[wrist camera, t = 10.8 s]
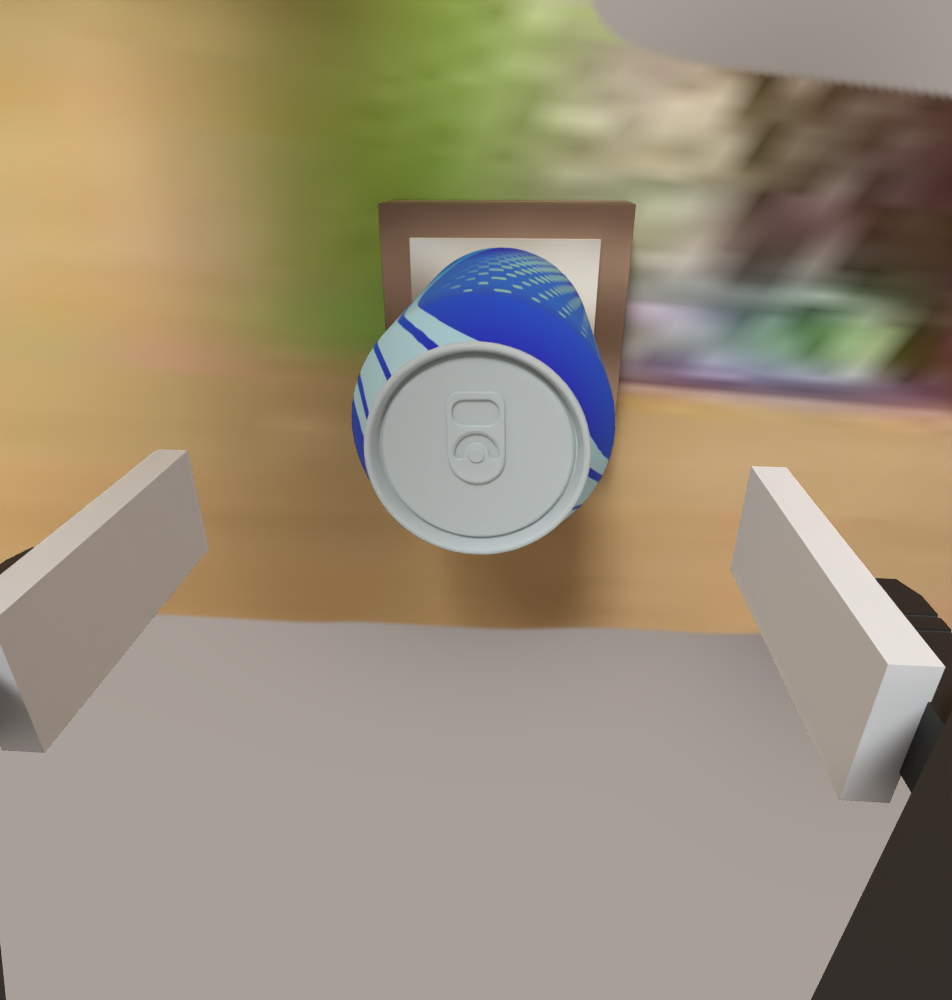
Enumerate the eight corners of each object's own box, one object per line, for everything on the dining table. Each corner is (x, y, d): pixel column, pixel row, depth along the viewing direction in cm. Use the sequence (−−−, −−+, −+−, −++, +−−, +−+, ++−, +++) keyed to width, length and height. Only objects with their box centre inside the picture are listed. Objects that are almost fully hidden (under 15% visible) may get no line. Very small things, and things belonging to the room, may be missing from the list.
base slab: (392, 199, 35) (376, 203, 32) (626, 200, 34) (637, 205, 31) (403, 419, 40) (390, 444, 37) (606, 424, 40) (613, 450, 36)
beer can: (622, 321, 33) (688, 439, 19) (513, 444, 36) (498, 625, 22) (488, 204, 31) (446, 238, 17) (385, 345, 35) (278, 473, 20)
